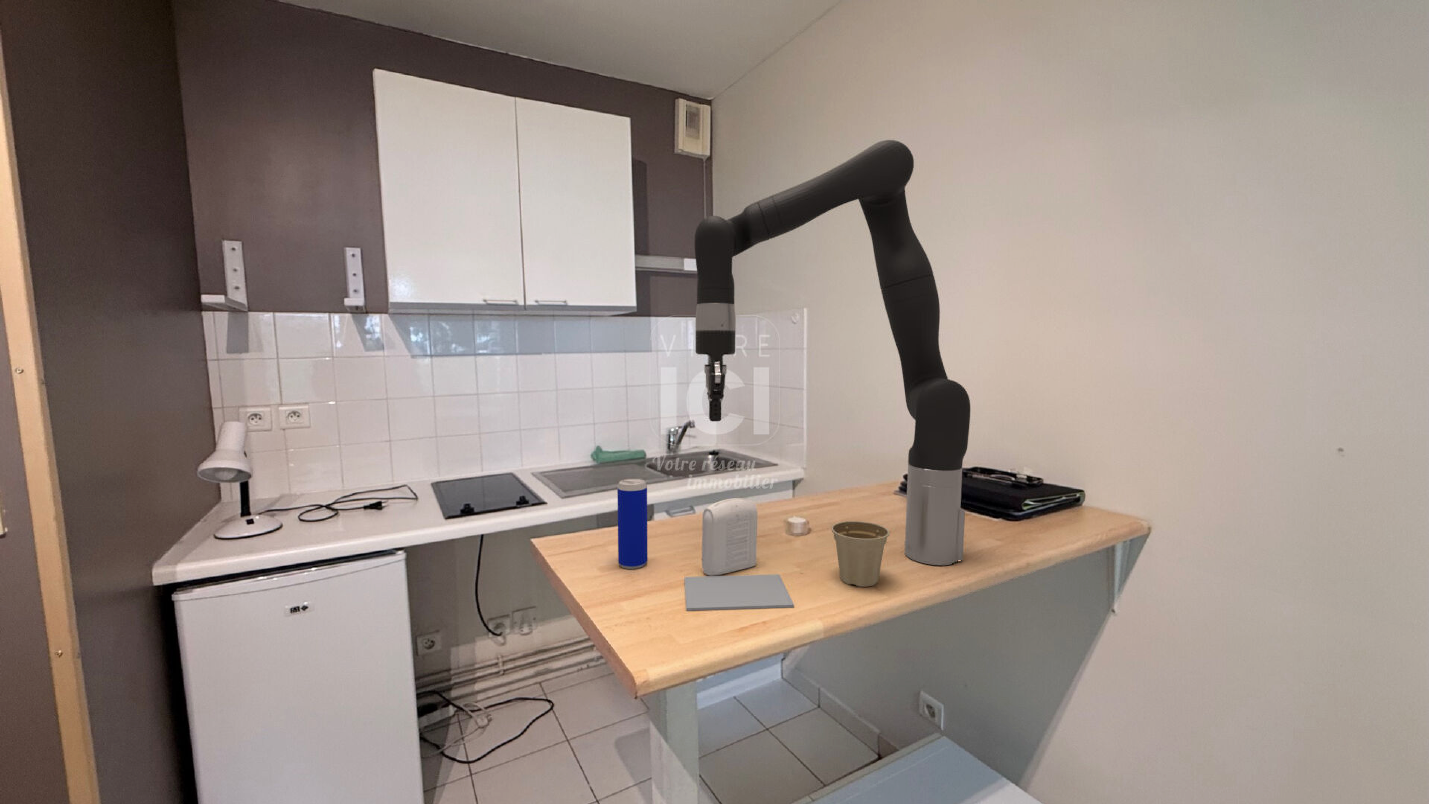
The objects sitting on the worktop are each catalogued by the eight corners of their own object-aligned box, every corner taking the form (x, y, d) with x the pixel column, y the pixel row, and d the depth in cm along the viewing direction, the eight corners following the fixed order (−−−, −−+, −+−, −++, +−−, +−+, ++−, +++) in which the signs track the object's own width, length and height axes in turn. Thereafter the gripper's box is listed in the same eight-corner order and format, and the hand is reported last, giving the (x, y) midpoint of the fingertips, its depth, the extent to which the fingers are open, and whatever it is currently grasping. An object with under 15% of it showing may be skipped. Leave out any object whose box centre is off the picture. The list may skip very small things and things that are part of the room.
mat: (779, 576, 91) (779, 574, 91) (794, 607, 80) (794, 604, 80) (684, 579, 90) (684, 576, 90) (686, 610, 79) (686, 608, 79)
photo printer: (745, 558, 99) (746, 492, 98) (760, 566, 96) (761, 498, 94) (698, 570, 93) (698, 501, 92) (711, 579, 90) (712, 507, 89)
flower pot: (817, 577, 91) (819, 527, 90) (853, 564, 97) (854, 517, 96) (863, 597, 84) (865, 543, 83) (899, 582, 89) (901, 531, 89)
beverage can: (653, 561, 97) (652, 480, 96) (637, 572, 93) (636, 486, 91) (629, 556, 100) (628, 477, 98) (612, 567, 95) (611, 483, 93)
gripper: (739, 327, 95) (738, 425, 97) (731, 330, 108) (730, 416, 110) (697, 327, 94) (697, 425, 96) (694, 330, 107) (694, 416, 109)
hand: (715, 420), depth 103 cm, fingers closed
